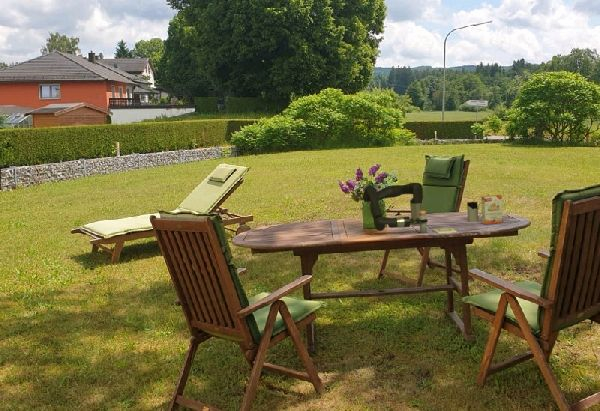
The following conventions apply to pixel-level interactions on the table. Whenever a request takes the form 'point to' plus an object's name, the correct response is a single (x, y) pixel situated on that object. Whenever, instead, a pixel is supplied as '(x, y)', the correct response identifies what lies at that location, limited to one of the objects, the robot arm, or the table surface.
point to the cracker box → (491, 209)
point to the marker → (423, 226)
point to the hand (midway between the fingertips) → (426, 220)
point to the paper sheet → (444, 230)
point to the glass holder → (472, 212)
